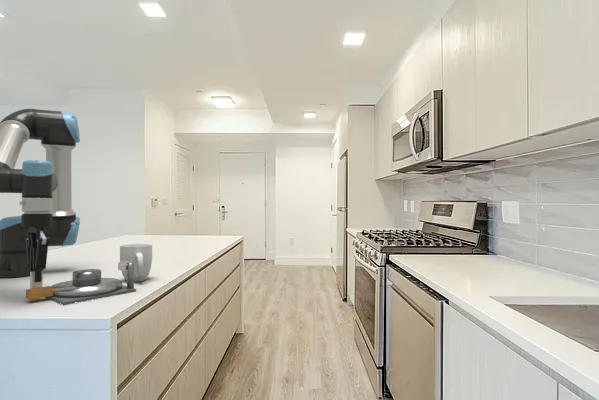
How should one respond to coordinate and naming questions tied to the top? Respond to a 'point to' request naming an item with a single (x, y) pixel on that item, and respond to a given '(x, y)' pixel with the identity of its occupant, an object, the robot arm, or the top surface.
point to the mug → (137, 259)
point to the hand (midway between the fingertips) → (36, 292)
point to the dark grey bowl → (86, 277)
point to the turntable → (74, 289)
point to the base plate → (84, 298)
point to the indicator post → (128, 272)
